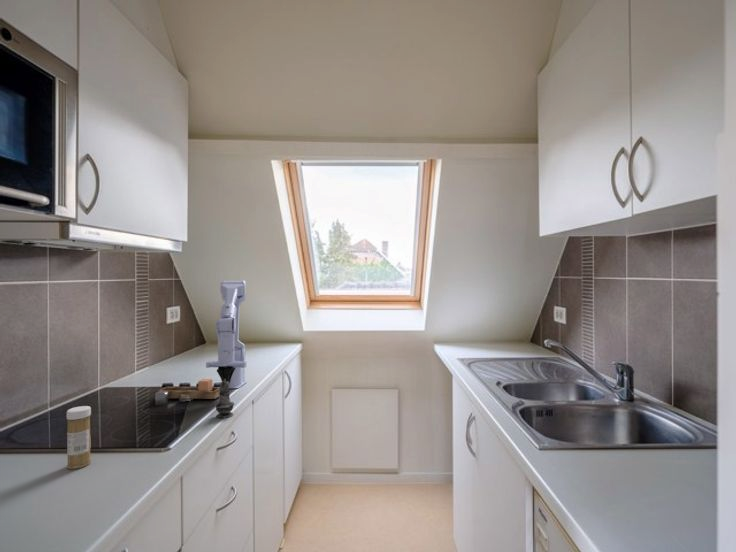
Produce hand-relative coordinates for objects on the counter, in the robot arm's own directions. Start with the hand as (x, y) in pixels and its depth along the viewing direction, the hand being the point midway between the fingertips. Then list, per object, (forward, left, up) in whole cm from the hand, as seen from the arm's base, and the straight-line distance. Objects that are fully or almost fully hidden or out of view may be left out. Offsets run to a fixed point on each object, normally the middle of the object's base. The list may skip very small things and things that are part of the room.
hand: (226, 387), depth 139 cm
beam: (0, -14, -4) cm, 15 cm away
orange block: (0, -8, -1) cm, 8 cm away
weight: (+6, -21, -4) cm, 22 cm away
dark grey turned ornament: (+17, +7, -5) cm, 19 cm away
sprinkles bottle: (+51, -13, -5) cm, 53 cm away
